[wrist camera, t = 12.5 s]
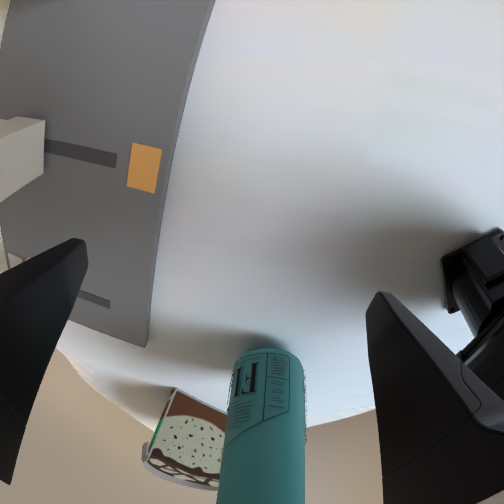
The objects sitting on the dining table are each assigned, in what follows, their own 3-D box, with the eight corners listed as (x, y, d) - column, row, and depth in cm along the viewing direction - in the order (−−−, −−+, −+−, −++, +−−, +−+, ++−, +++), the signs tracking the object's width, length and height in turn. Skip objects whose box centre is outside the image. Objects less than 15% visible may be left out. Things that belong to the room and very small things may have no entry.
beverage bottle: (258, 322, 26) (231, 574, 9) (320, 350, 27) (326, 572, 11) (222, 359, 29) (186, 564, 12) (279, 382, 31) (268, 571, 14)
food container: (142, 396, 35) (121, 463, 27) (165, 381, 33) (142, 458, 24) (219, 432, 39) (209, 495, 31) (247, 422, 36) (239, 491, 28)
